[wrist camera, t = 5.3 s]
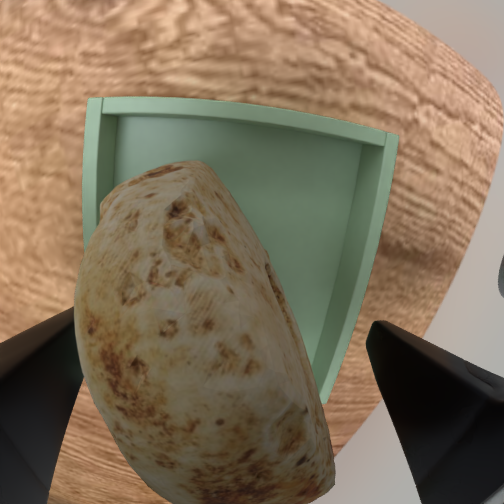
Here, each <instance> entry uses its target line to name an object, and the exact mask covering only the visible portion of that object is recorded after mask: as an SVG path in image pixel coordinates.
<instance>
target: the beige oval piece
mask: <svg viewBox="0 0 504 504" xmlns="http://www.w3.org/2000/svg"><path fill="white" fill-rule="evenodd" d="M74 322H75V335H76V341H77V347H78V353H79V359H80V364H81V368H82V372H83V375H84V378H85V380H86V383H87V386H88V388H89V391H90V393H91V396H92V398H93V401H94V403H95V405H96V407H97V409H98V410H99V412H100V414H101V415H102V417H103V419H104V421H105V423H106V424H107V426H108V428H109V430H110V432H111V434H112V436H113V438H114V440H115V442H116V444H117V445H118V447H119V449H120V451H121V453H122V454H123V456H124V457H125V459H126V460H127V462H128V463H129V465H130V466H131V467H132V468H133V470H134V471H135V472H136V473H137V474H138V475H139V476H140V477H141V479H142V480H143V481H144V482H145V483H146V484H147V486H148V487H150V488H151V489H152V490H153V491H155V492H156V493H157V494H159V495H160V496H161V497H163V498H165V499H166V500H168V501H169V502H171V503H173V504H308V503H311V502H313V501H314V500H316V499H317V498H319V497H321V496H323V495H324V494H325V493H327V492H328V491H329V490H330V489H331V488H332V487H333V486H334V485H335V463H334V455H333V450H332V445H331V440H330V434H329V429H328V425H327V422H326V419H325V415H324V410H323V407H322V403H321V400H320V396H319V393H318V389H317V385H316V382H315V378H314V375H313V371H312V368H311V364H310V361H309V358H308V355H307V351H306V348H305V345H304V342H303V339H302V336H301V333H300V330H299V327H298V324H297V321H296V319H295V317H294V314H293V312H292V309H291V307H290V305H289V303H288V301H287V298H286V296H285V293H284V290H283V288H282V285H281V283H280V280H279V278H278V276H277V274H276V272H275V270H274V268H273V266H272V264H271V262H270V258H269V254H268V252H267V251H266V250H265V249H264V248H263V246H262V244H261V242H260V240H259V238H258V237H257V235H256V233H255V231H254V230H253V228H252V226H251V225H250V223H249V222H248V220H247V218H246V217H245V215H244V214H243V212H242V210H241V209H240V207H239V206H238V204H237V203H236V201H235V200H234V198H233V197H232V195H231V193H230V192H229V190H228V189H227V188H226V187H225V185H224V184H223V182H222V181H221V180H220V178H219V177H218V176H217V174H216V173H215V171H214V170H213V169H212V168H211V167H209V166H208V165H207V164H205V163H204V162H201V161H198V160H195V161H181V162H174V163H169V164H165V165H162V166H160V167H158V168H154V169H152V170H149V171H147V172H144V173H142V174H139V175H137V176H134V177H132V178H130V179H128V180H126V181H124V182H122V183H121V184H119V185H117V186H116V187H115V188H114V189H113V190H112V191H111V192H110V193H109V194H108V195H107V196H106V197H105V198H104V199H103V201H102V202H101V204H100V223H99V225H98V226H97V228H96V229H95V231H94V232H93V234H92V235H91V237H90V240H89V242H88V245H87V248H86V250H85V253H84V256H83V259H82V262H81V265H80V270H79V274H78V279H77V284H76V289H75V297H74Z"/></svg>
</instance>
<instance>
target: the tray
mask: <svg viewBox="0 0 504 504" xmlns="http://www.w3.org/2000/svg"><path fill="white" fill-rule="evenodd" d="M398 142H399V136H398V135H396V134H393V133H389V132H385V131H382V130H379V129H375V128H371V127H367V126H364V125H360V124H356V123H352V122H347V121H343V120H339V119H334V118H330V117H325V116H320V115H315V114H310V113H305V112H299V111H294V110H288V109H282V108H275V107H269V106H262V105H255V104H247V103H238V102H229V101H219V100H207V99H194V98H176V97H105V98H103V97H95V98H88V103H87V112H86V122H85V134H84V149H83V174H82V214H83V239H84V253H85V250H86V248H87V245H88V242H89V240H90V237H91V235H92V234H93V232H94V231H95V229H96V228H97V226H98V225H99V223H100V204H101V202H102V201H103V199H104V198H105V197H106V196H107V195H108V194H109V193H110V192H111V191H112V190H113V189H114V188H115V187H116V186H117V185H119V184H121V183H122V182H124V181H126V180H128V179H130V178H132V177H134V176H137V175H139V174H142V173H144V172H147V171H149V170H152V169H154V168H158V167H160V166H162V165H165V164H169V163H174V162H181V161H195V160H198V161H201V162H204V163H205V164H207V165H208V166H209V167H211V168H212V169H213V170H214V171H215V173H216V174H217V176H218V177H219V178H220V180H221V181H222V182H223V184H224V185H225V187H226V188H227V189H228V190H229V192H230V193H231V195H232V197H233V198H234V200H235V201H236V203H237V204H238V206H239V207H240V209H241V210H242V212H243V214H244V215H245V217H246V218H247V220H248V222H249V223H250V225H251V226H252V228H253V230H254V231H255V233H256V235H257V237H258V238H259V240H260V242H261V244H262V246H263V248H264V249H265V250H266V251H267V252H268V254H269V258H270V262H271V264H272V266H273V268H274V270H275V272H276V274H277V276H278V278H279V280H280V283H281V285H282V288H283V290H284V293H285V296H286V298H287V301H288V303H289V305H290V307H291V309H292V312H293V314H294V317H295V319H296V321H297V324H298V327H299V330H300V333H301V336H302V339H303V342H304V345H305V348H306V351H307V355H308V358H309V361H310V364H311V368H312V371H313V375H314V378H315V382H316V385H317V389H318V393H319V396H320V400H321V403H322V404H326V403H327V400H328V398H329V395H330V393H331V390H332V388H333V385H334V383H335V380H336V378H337V375H338V372H339V370H340V367H341V364H342V362H343V359H344V356H345V353H346V350H347V348H348V345H349V342H350V339H351V336H352V333H353V330H354V327H355V324H356V321H357V318H358V315H359V312H360V308H361V305H362V302H363V298H364V295H365V292H366V288H367V285H368V281H369V278H370V274H371V271H372V267H373V263H374V259H375V255H376V252H377V248H378V244H379V240H380V235H381V231H382V227H383V222H384V218H385V213H386V209H387V204H388V199H389V194H390V189H391V184H392V178H393V173H394V167H395V161H396V155H397V149H398Z"/></svg>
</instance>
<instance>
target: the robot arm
mask: <svg viewBox="0 0 504 504" xmlns="http://www.w3.org/2000/svg"><path fill="white" fill-rule="evenodd" d="M366 349H367V352H368V356H369V359H370V362H371V365H372V369H373V372H374V376H375V379H376V382H377V385H378V387H379V390H380V392H381V395H382V397H383V400H384V402H385V404H386V407H387V409H388V412H389V415H390V417H391V419H392V422H393V425H394V427H395V430H396V432H397V435H398V438H399V440H400V443H401V445H402V448H403V451H404V454H405V457H406V459H407V462H408V465H409V468H410V470H411V473H412V476H413V479H414V482H415V484H416V488H417V491H418V494H419V497H420V500H421V503H422V504H504V378H503V377H501V376H498V375H496V374H493V373H491V372H489V371H487V370H484V369H482V368H480V367H478V366H476V365H474V364H472V363H470V362H468V361H465V360H463V359H462V358H460V357H458V356H456V355H454V354H452V353H450V352H448V351H446V350H444V349H442V348H440V347H438V346H436V345H434V344H432V343H430V342H428V341H426V340H424V339H422V338H420V337H418V336H416V335H414V334H412V333H410V332H408V331H406V330H404V329H402V328H400V327H398V326H396V325H394V324H392V323H390V322H388V321H385V320H377V321H374V322H373V323H372V326H371V328H370V331H369V334H368V337H367V340H366ZM83 378H84V375H83V372H82V368H81V364H80V359H79V353H78V347H77V341H76V335H75V322H74V307H72V308H69V309H67V310H65V311H63V312H61V313H59V314H57V315H55V316H53V317H51V318H49V319H47V320H45V321H43V322H41V323H39V324H37V325H35V326H33V327H31V328H29V329H27V330H25V331H23V332H21V333H19V334H17V335H15V336H14V337H12V338H10V339H8V340H6V341H4V342H2V343H0V504H47V501H48V496H49V491H50V487H51V483H52V478H53V474H54V470H55V467H56V463H57V459H58V455H59V452H60V448H61V445H62V441H63V438H64V435H65V431H66V428H67V425H68V422H69V419H70V416H71V413H72V410H73V407H74V404H75V401H76V398H77V395H78V392H79V389H80V386H81V384H82V381H83Z"/></svg>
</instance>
